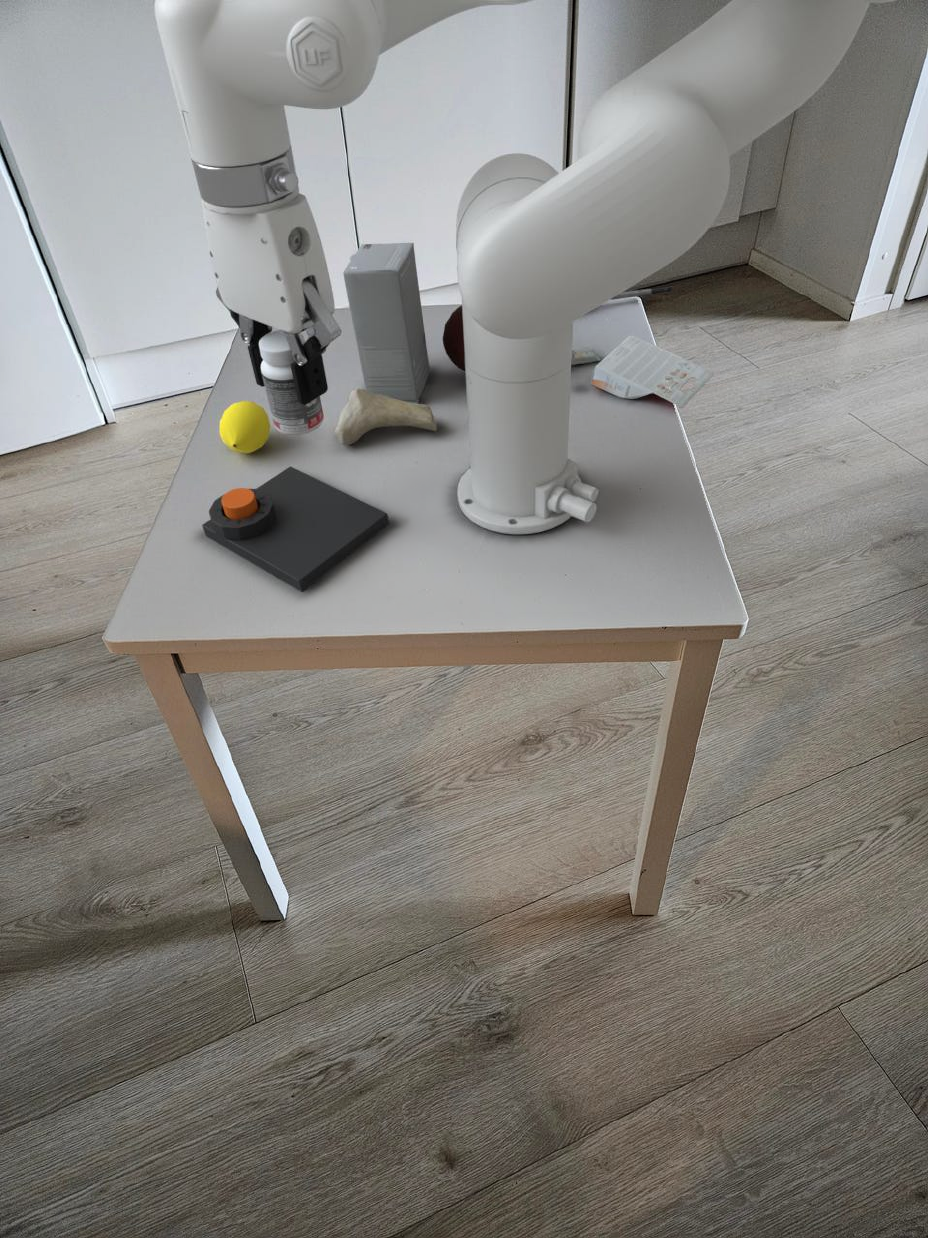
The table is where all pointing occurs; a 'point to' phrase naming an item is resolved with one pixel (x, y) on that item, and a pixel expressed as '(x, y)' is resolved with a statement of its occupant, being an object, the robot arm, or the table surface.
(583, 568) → the table surface
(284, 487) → the scale
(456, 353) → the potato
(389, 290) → the cosmetic box
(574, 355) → the granola bar
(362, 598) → the table surface
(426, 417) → the cream lumpy piece
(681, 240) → the robot arm
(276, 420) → the pill bottle
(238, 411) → the lemon
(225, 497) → the button
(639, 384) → the ink box
